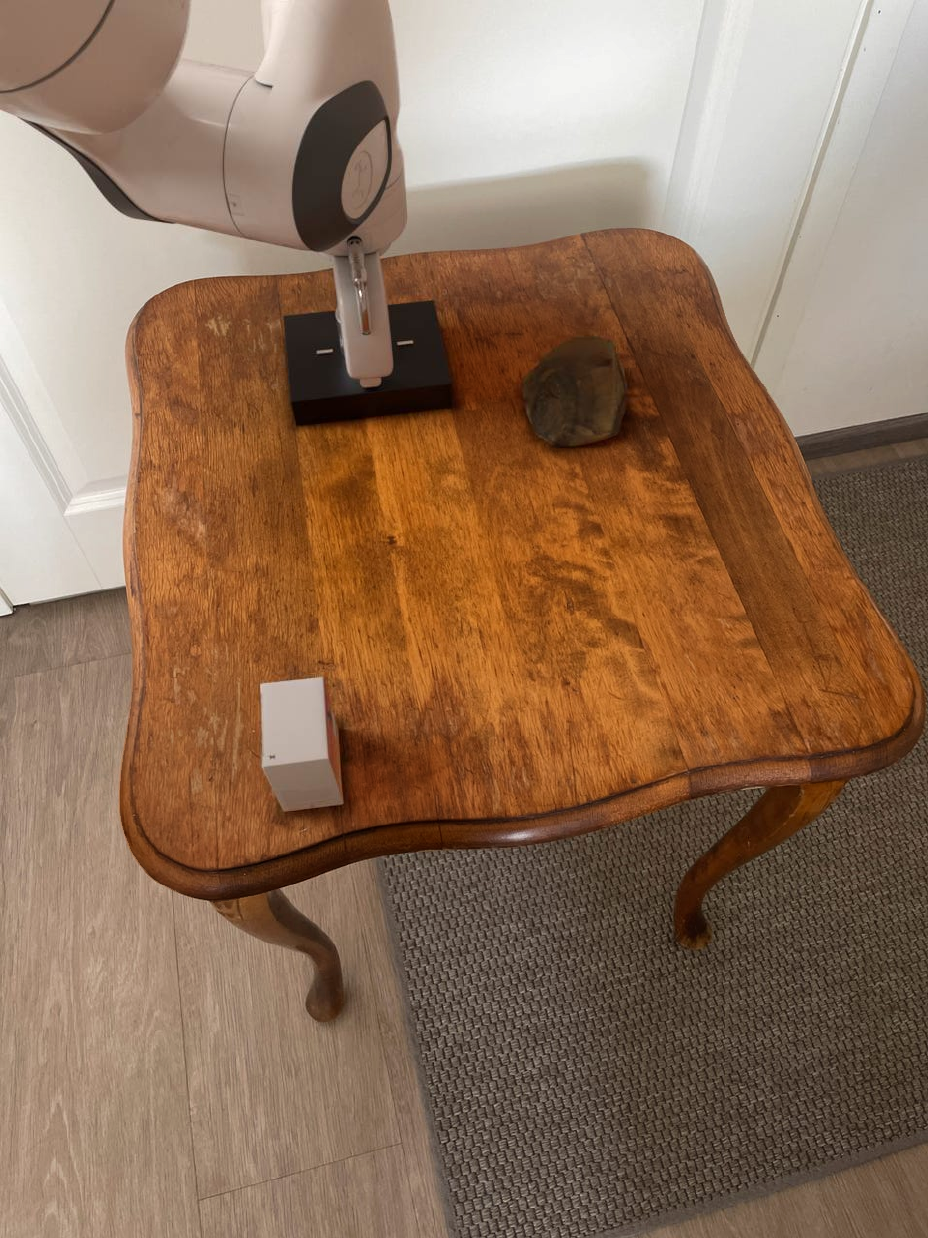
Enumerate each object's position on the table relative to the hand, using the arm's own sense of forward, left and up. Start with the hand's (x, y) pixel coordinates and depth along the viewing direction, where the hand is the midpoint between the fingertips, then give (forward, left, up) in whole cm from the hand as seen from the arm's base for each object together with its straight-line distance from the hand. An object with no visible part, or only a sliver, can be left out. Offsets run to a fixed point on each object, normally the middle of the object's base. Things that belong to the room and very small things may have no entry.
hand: (364, 343), depth 80 cm
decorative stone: (+18, -7, -4) cm, 20 cm away
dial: (0, 0, 0) cm, 0 cm away
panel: (0, 0, -4) cm, 4 cm away
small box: (-8, -38, -4) cm, 39 cm away
